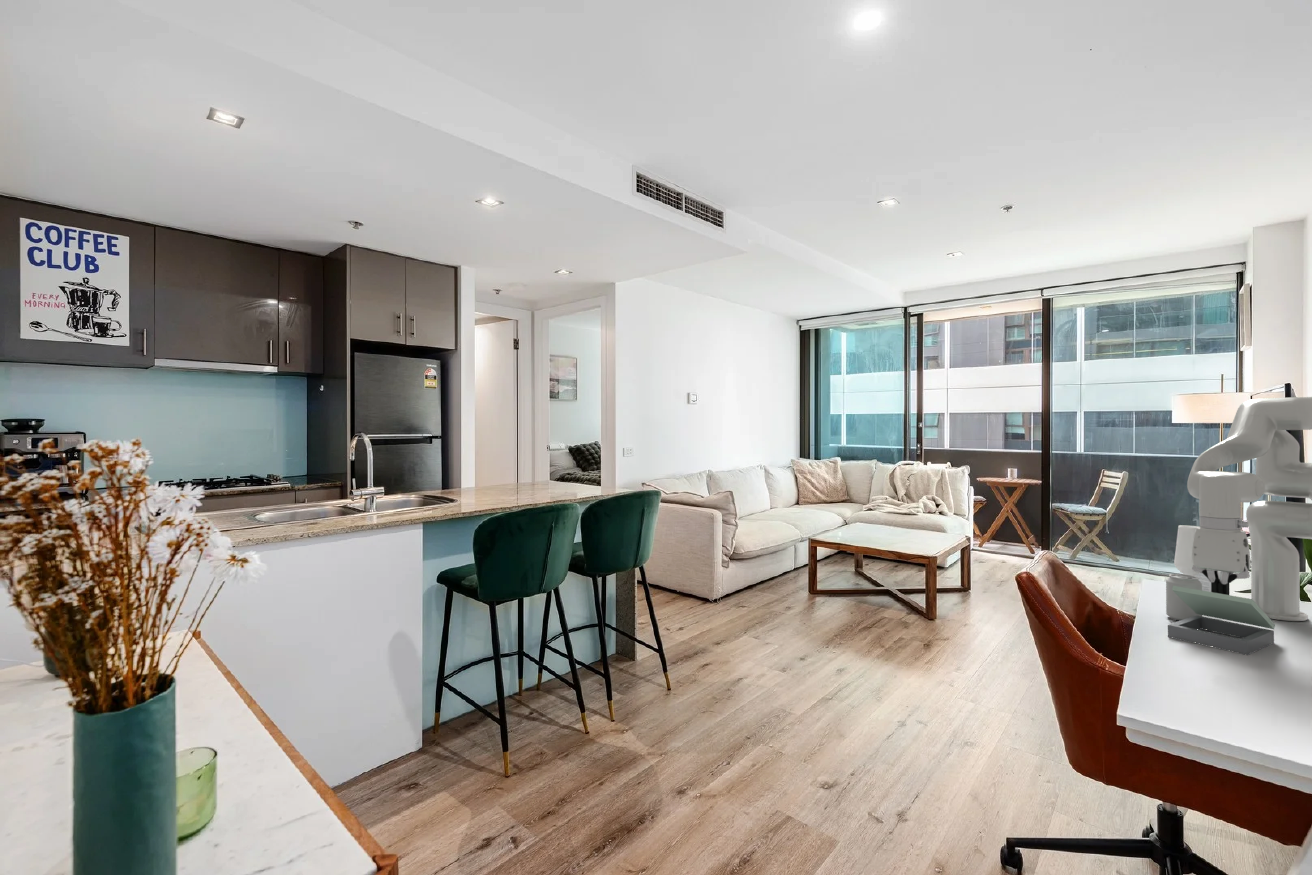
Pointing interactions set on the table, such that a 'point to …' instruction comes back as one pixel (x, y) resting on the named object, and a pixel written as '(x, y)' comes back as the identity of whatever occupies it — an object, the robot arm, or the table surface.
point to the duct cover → (1224, 607)
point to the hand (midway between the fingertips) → (1220, 598)
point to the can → (1173, 602)
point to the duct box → (1248, 644)
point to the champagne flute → (1185, 549)
